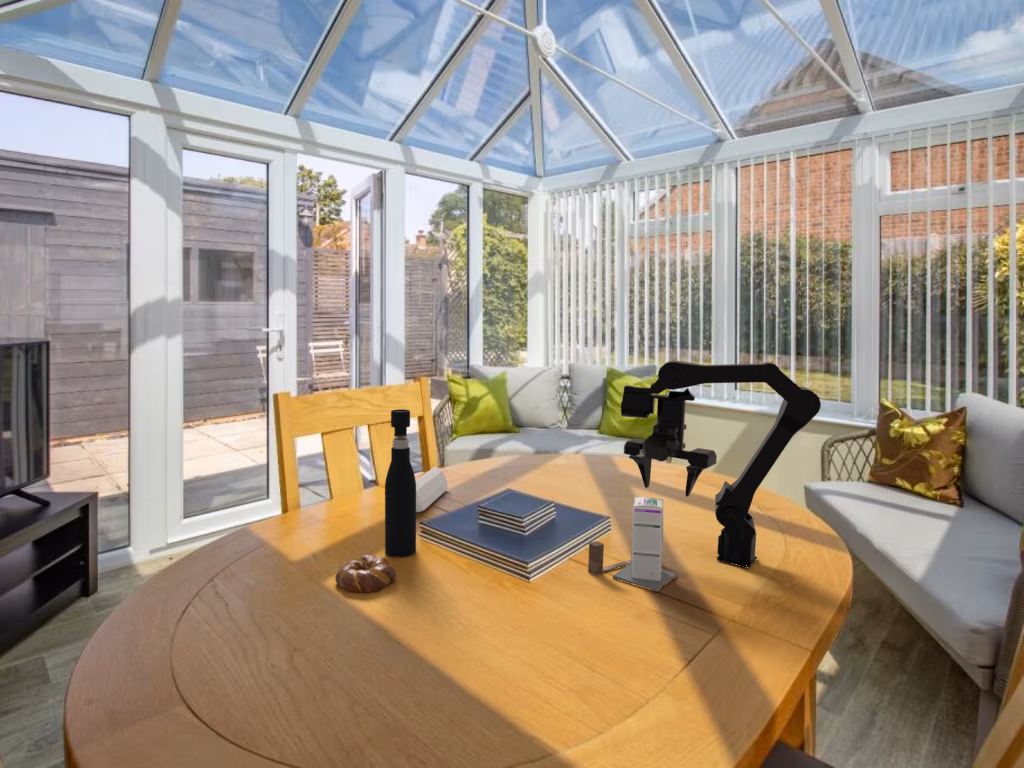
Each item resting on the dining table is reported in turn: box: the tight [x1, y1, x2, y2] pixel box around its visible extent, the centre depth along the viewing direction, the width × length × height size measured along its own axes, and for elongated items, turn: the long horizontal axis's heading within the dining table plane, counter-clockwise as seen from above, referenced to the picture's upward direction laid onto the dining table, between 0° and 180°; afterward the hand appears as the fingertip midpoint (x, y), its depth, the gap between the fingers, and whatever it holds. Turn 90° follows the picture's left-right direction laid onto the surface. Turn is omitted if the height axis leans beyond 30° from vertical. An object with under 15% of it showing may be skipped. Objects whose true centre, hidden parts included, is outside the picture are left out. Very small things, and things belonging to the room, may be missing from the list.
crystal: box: [415, 465, 448, 513], centre depth 159 cm, size 7×7×24 cm
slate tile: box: [612, 564, 677, 591], centre depth 114 cm, size 9×9×1 cm
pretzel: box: [335, 554, 397, 593], centre depth 110 cm, size 12×11×4 cm
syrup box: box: [630, 496, 664, 582], centre depth 113 cm, size 6×6×14 cm
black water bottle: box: [384, 408, 417, 558], centre depth 122 cm, size 6×6×30 cm
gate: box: [587, 540, 631, 577], centre depth 119 cm, size 16×2×6 cm, turn 122°
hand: (666, 491), depth 126 cm, fingers open, 9 cm apart
